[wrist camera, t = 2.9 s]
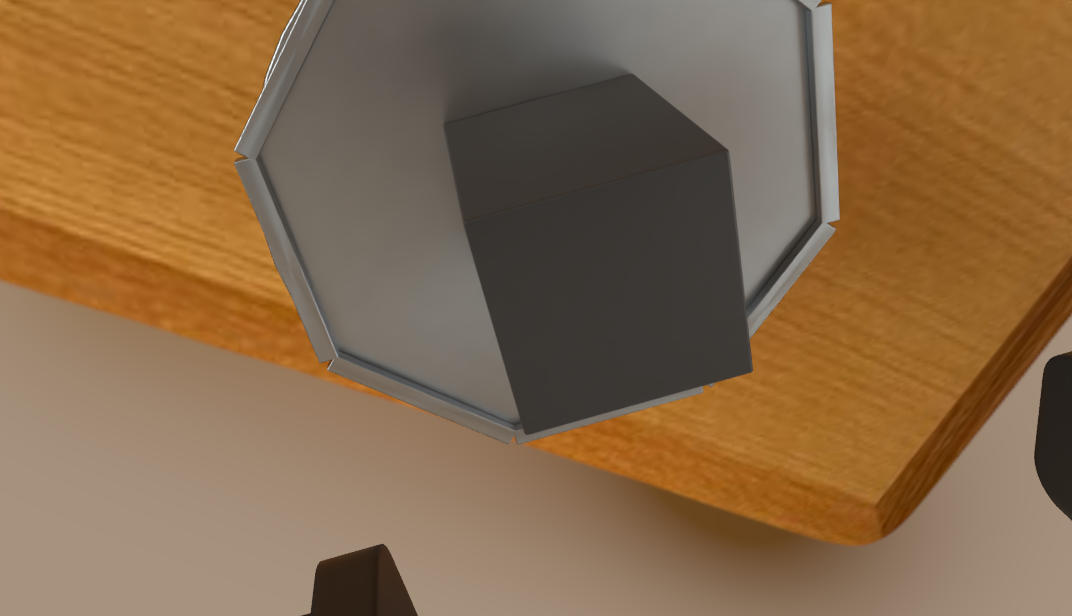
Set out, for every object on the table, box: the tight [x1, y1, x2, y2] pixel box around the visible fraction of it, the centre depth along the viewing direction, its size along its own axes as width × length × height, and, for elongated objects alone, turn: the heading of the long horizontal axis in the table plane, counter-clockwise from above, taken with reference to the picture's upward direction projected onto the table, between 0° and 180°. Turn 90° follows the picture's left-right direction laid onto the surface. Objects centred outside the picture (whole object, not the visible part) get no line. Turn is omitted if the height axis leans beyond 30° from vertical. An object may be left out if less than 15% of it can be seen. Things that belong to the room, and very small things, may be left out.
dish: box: [234, 0, 840, 444], centre depth 24 cm, size 14×14×11 cm
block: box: [443, 74, 753, 435], centre depth 17 cm, size 4×4×6 cm
